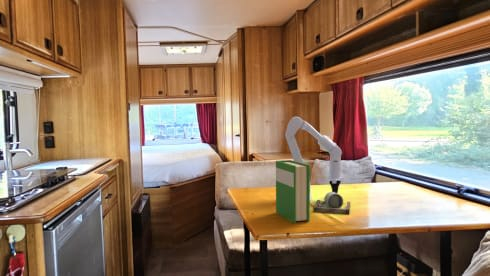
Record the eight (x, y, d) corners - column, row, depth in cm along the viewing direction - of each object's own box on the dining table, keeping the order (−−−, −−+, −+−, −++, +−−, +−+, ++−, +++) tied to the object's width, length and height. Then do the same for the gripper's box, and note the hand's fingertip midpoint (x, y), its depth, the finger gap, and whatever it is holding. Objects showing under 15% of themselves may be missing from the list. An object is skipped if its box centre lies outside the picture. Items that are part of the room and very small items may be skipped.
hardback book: (309, 221, 153) (309, 164, 151) (293, 223, 150) (293, 165, 149) (290, 211, 169) (290, 160, 168) (276, 212, 167) (275, 160, 165)
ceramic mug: (338, 205, 179) (337, 190, 179) (343, 209, 171) (343, 193, 171) (316, 206, 179) (316, 190, 178) (321, 210, 170) (321, 194, 170)
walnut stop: (313, 211, 168) (313, 207, 168) (317, 203, 182) (317, 200, 182) (349, 214, 163) (349, 209, 163) (350, 206, 178) (350, 201, 178)
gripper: (342, 171, 181) (342, 198, 182) (343, 167, 195) (343, 192, 196) (327, 170, 183) (327, 197, 184) (330, 166, 197) (330, 191, 198)
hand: (335, 194), depth 190 cm, fingers closed
